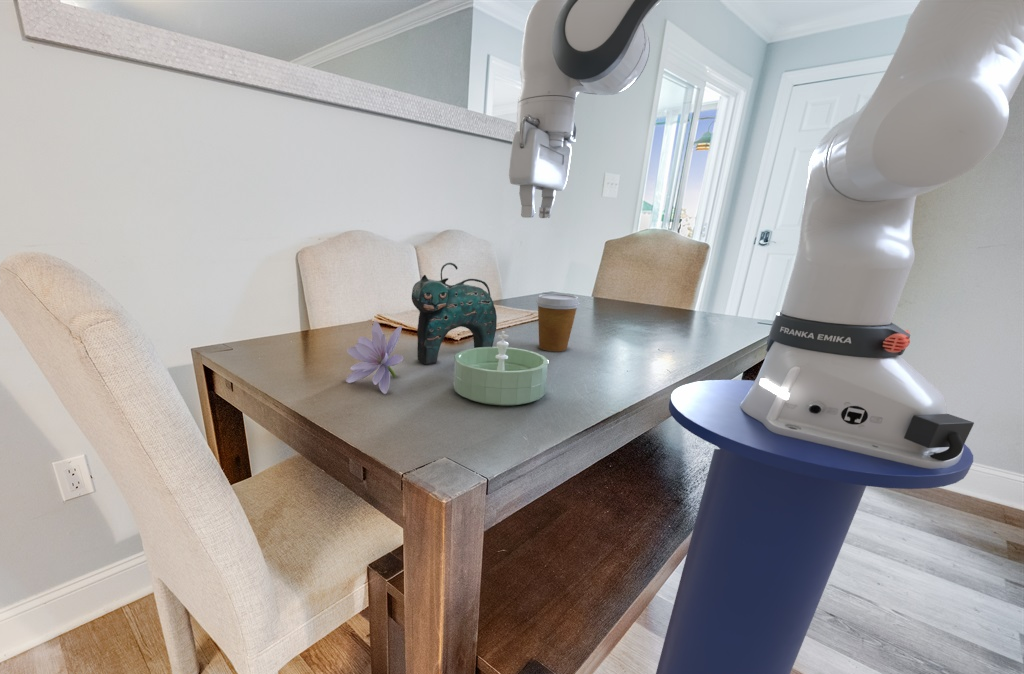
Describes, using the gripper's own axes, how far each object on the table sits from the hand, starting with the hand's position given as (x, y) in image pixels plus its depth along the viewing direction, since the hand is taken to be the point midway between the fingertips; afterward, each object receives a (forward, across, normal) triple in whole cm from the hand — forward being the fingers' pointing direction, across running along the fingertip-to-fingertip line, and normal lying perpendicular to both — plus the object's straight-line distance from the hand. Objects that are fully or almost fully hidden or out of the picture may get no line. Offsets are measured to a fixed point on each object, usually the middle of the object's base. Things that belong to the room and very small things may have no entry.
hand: (536, 217), depth 78 cm
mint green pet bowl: (+28, -10, +1) cm, 30 cm away
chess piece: (+28, -10, +1) cm, 30 cm away
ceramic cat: (+28, +5, +17) cm, 34 cm away
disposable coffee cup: (+28, +24, +1) cm, 37 cm away
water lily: (+28, -18, +22) cm, 40 cm away
